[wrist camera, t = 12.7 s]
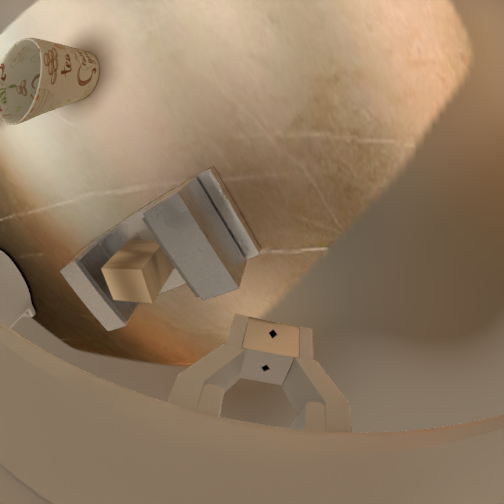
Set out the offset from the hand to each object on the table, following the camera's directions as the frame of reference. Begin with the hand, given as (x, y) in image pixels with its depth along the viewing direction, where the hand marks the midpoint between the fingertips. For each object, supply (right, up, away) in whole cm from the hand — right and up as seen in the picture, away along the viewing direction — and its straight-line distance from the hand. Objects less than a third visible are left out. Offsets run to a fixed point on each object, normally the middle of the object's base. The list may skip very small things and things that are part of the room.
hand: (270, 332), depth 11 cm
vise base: (-13, +3, +21) cm, 25 cm away
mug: (-22, +23, +12) cm, 34 cm away
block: (-12, +3, +20) cm, 24 cm away
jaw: (-6, +5, +17) cm, 19 cm away
